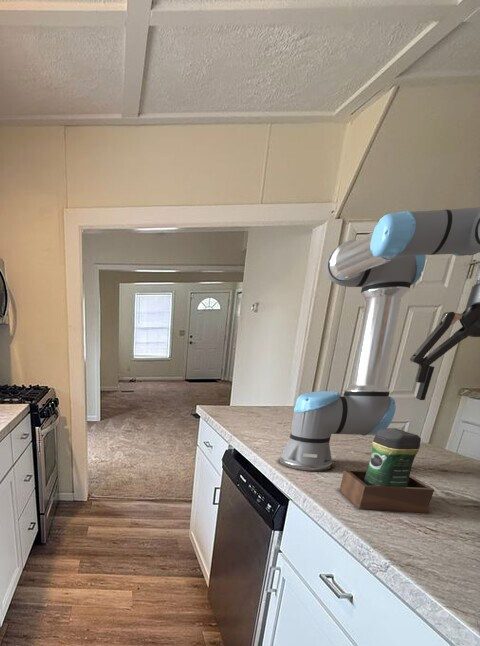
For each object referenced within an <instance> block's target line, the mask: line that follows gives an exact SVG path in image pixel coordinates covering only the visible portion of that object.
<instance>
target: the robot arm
mask: <svg viewBox="0 0 480 646" xmlns="http://www.w3.org/2000/svg"><path fill="white" fill-rule="evenodd" d="M478 253H480V206H479V207H466V208H464V207H463V208H462V207H461V208H451V209H449V208H448V209H438V210H437V209H436V210H435V209H433V210H417V211H416V210H415V211H407V210H402V211H399V212H392V213H386V214H385V215H383V216H382V217H381V218H380V219H379V221H378V222H377V223H376V225H375V226H374V229H373V231H372V232H370V233H368V234H366V235H364V236H362V237H360V238H359V239H350V240H347V241H344V242H342V243H340V244H339V245H337V247H335V248H334V249H333V250H332V251H331V252H330V254H329V255H328V257H327V260H326V262H325V263H326V264H325V272H326V275H327V277H328V278H329V280H330V281H331V282H333V283H334V284H336V285H338V286H340V287H345V288H346V287H347V288H361V290H360V296H361V297H362V298H363V300H364V308H363V313H362V319H361V326H360V331H359V337H358V343H357V349H356V355H355V360H354V367H353V370H352V371H353V372H352V376H351V377H352V378H351V383H350V385H349V386H348V387H347V388H345V389H344V392H343V396H342V395H340V392H339V391H336V390H320V391H310V392H306V393H302V394H301V395H299V396H298V397H297V399H296V402H295V404H294V408H293V416H292V420H291V421H292V422H291V428H290V434H289V439H288V441H287V443H286V445H285V447H284V449H283V451H282V452H281V454H280V457H279V463H280V464H281V465H282V466H285V467H287V468H290V469H294V470H299V471H300V470H301V471H305V472H306V471H309V472H321V471H323V472H324V471H327V470H329V469H331V467H332V463H333V460H332V459H333V458H332V453H331V445H330V442H331V437H332V435H354V436H356V435H357V436H358V435H359V436H364V437H365V436H375V434H376V432H377V431H379V430H380V429H382V428H389V426H390V424H391V423H392V421H393V419H394V417H395V415H396V414H395V413H396V407H397V406H396V400H395V398H393V396H392V397H391V396H390V393H391V392H390V391H391V390H390V389H389V388H388V387H387V386H386V380H387V375H388V369H389V365H390V360H391V354H392V351H393V344H394V339H395V334H396V328H397V325H398V324H397V323H398V318H399V313H400V308H401V304H402V303H401V302H402V298H403V297H404V296H405V295H406V294H407V293H408V292H410V291H411V286H413V285H414V284H416V283H418V281H419V280H420V278H421V277H422V273H423V272H424V271H425V266H426V262H427V261H426V260H427V256H439V255H453V256H456V257H464V256H474V255H477V254H478ZM473 280H474V281H475V282H476V284H473V286H471V289H470V292H469V296H468V299H467V302H466V304H465V305H466V306H465V309H464V310H463V312H462V313H461V312H455V311H446V312H444V313H443V314H442V315H441V318H440V320H439V323H438V324H437V325H436V327H435V328H434V329H433V330H432V332H431V333H430V334H429V335H428V336H427V338H425V340H424V341H423V342H422V344H421V345H420V346H419V347H418V348H417V350H416V351H415V352H414V353H413V354H412V355H411V356H410V358H409V361H410V362H411V363H414V364H417V365H418V366H419V367H418V369H417V372H416V377H415V382H416V383H419V386H418V390H417V394H416V397H415V398H416V399H417V400H419V401H425V400H426V398H427V394H428V391H429V387H430V384H431V381H432V378H433V375H434V374H433V373H434V370H435V366H433V365H432V364H433V363H435V362H436V361H438V359H440V358H441V357H442V356H443V355H446V353H447V352H449V351H450V350H452V349H453V348H454V347H455V346H457V345H458V344H459V343H461V342H462V341H463V340H466V338H468V337H470V338H480V263H479V265H478V267H477V269H476V272H475V276H474V279H473ZM458 321H459V323H460V324H461V327H460V328H459V329H457V330H456V331H455V332H453V334H452V335H451V336H450V337H449V338H447V339H446V340H444V342H442V343H441V344H440V345H438V346H437V347H436V348H434V349H433V350H432V351H431V352H430V350H431V349H432V348H433V347H434V346H435V345H436V344H437V343H438V342H439V340H440V339H441V338H442V336H443V335H444V334H445V333H446V332H447V331H448V329H449V328H450V327H451V326H452V325H455V324H456V323H457V322H458Z"/></svg>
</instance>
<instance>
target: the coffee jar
mask: <svg viewBox="0 0 480 646" xmlns="http://www.w3.org/2000/svg"><path fill="white" fill-rule="evenodd" d="M421 441H422V438H421V436H419V435H418V434H415V433H411V432H408V431H405V430H402V429H399V428H391V427H387V428H382V429H380V430H379V431H377V432H376V434H375V435H374V437H373V439H372V444H371V447H372V448H371V454H370V459H369V462H368V465H367V469H366V471H367V472H366V475H365V478H364V481H363V482H364V483H365V484H366V485H370V486H393V487H407V484H408V480H409V475H411V471H412V467H413V465H414V464H413V463H414V461H415V459H416V456H417V454H418V453H419V450H420V448H421V447H420V446H421Z"/></svg>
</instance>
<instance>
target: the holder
mask: <svg viewBox="0 0 480 646" xmlns="http://www.w3.org/2000/svg"><path fill="white" fill-rule="evenodd" d="M366 472H367V470H364V469H363V470H360V469H359V470H358V469H344V470H343V474H342V478H341V482H340V485H339V486H340V487H339V492H341V493H342V495H344V497H346V498H347V499H348V500H349V501H350V502H351V503H352V504H353V505H354V506H355V507H357V509H358V510H367V511H368V510H371V511H387V512H388V511H389V512H404V513H405V512H407V513H425V514H427V513H428V511H429V507H430V504H431V501H432V499H433V495H434V492H435V489H434V488H433V487H430V486H429V485H427V484H425V482H422V481H421V480H419V479H417V478H416V477H414V476H413V475H411V474H410V475H409V480H408V484H407V487H393V486H370V485H366V484H365V483H364V482H363V481H364V478H365V475H366Z"/></svg>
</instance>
